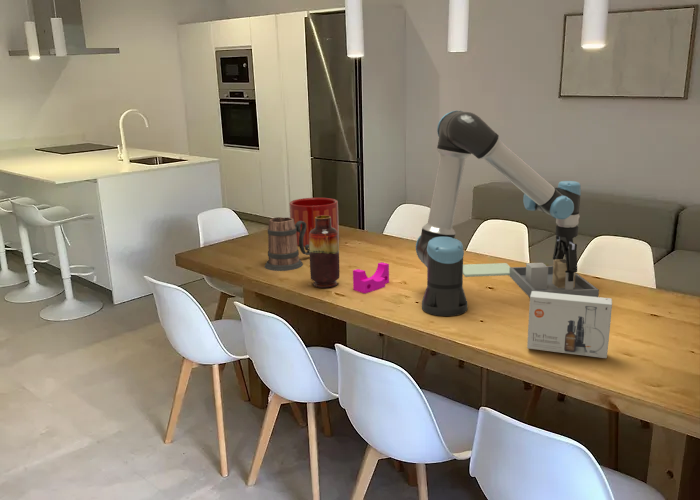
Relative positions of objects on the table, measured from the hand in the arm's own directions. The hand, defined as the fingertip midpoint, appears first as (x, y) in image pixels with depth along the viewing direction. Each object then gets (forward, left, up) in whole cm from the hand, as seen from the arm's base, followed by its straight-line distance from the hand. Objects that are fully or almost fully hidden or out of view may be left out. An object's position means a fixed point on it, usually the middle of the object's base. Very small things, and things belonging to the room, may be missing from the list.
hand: (563, 284), depth 228 cm
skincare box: (-55, +19, -1) cm, 58 cm away
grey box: (0, +10, 0) cm, 10 cm away
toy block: (+8, +68, -1) cm, 69 cm away
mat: (+23, +23, -1) cm, 32 cm away
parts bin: (0, +5, -1) cm, 5 cm away
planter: (+79, +92, -1) cm, 121 cm away
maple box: (0, 0, 0) cm, 0 cm away
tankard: (+43, +102, -1) cm, 110 cm away
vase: (+13, +87, -1) cm, 87 cm away
